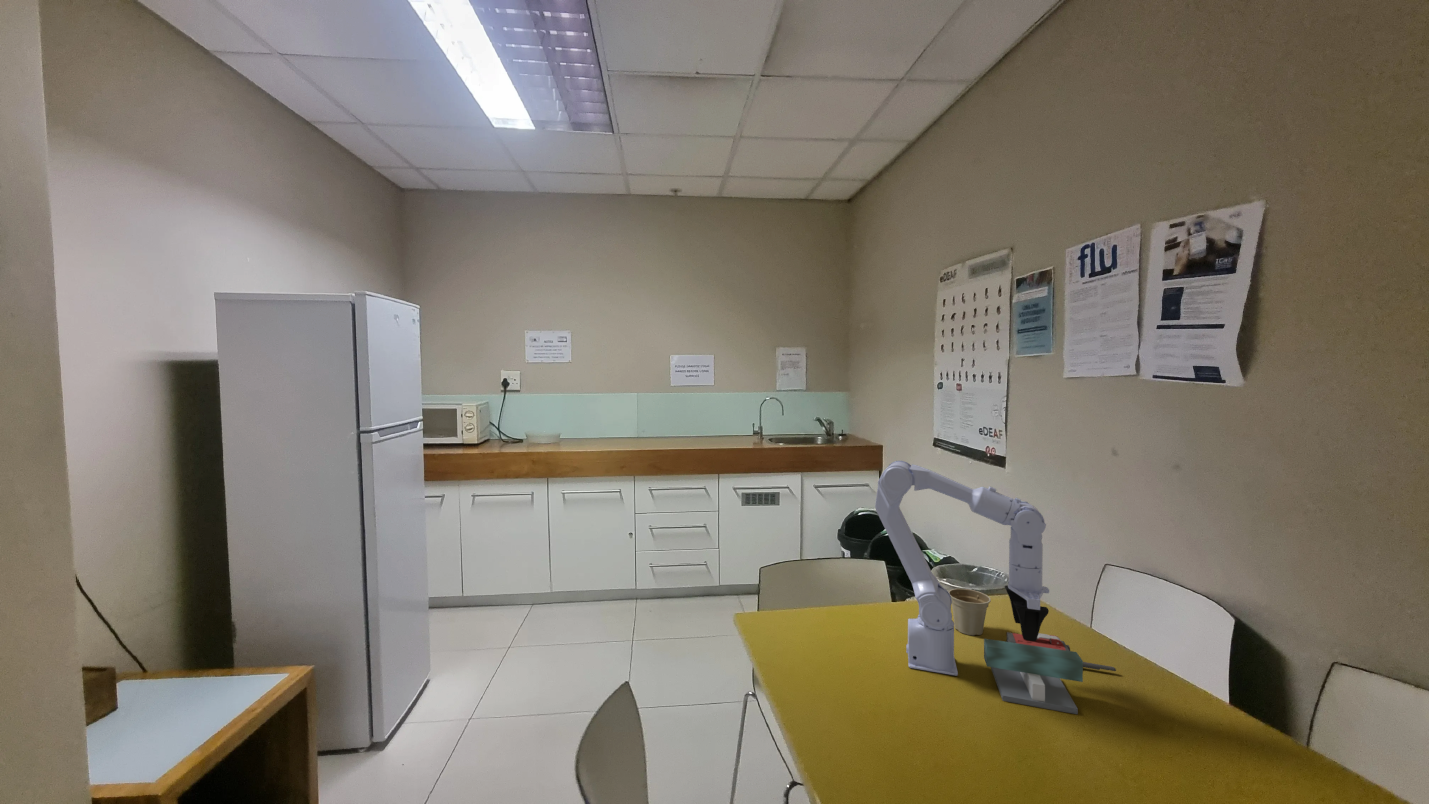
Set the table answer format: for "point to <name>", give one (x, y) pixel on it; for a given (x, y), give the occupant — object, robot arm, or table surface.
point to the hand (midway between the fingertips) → (1025, 631)
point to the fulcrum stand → (1033, 690)
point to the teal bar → (1033, 660)
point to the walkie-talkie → (1051, 646)
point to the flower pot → (969, 610)
